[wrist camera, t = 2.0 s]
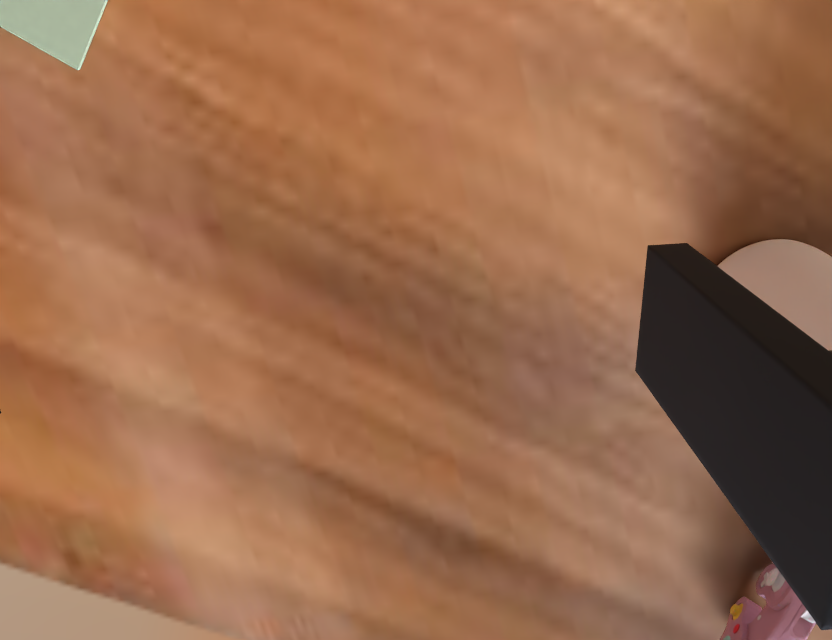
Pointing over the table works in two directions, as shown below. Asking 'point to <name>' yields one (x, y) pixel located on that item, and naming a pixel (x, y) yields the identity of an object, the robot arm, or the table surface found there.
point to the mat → (54, 25)
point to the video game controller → (770, 613)
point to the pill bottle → (788, 282)
